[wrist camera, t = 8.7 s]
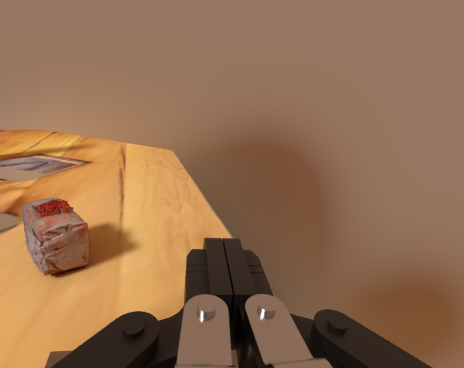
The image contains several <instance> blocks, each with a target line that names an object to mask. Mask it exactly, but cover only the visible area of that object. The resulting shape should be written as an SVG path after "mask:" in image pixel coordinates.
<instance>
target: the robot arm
mask: <svg viewBox="0 0 464 368" xmlns="http://www.w3.org/2000/svg"><path fill="white" fill-rule="evenodd" d="M231 350H236V354H237V362H236V367H235V365H232V358H231ZM50 368H431V367H430V366H429V365H427V364H425V363H423V362H422V361H420V360H419V359H417V358H415V357H414V356H412V355H410V354H409V353H407V352H406V351H404V350H402V349H401V348H399V347H397V346H396V345H394V344H392V343H391V342H389V341H387V340H385V339H384V338H382V337H381V336H379V335H378V334H376V333H374V332H372V331H371V330H369V329H368V328H366V327H364V326H363V325H361V324H359V323H358V322H356V321H355V320H353V319H351V318H350V317H348V316H346V315H344V314H343V313H340V312H338V311H335V310H328V309H326V310H321V311H319V312H317V313H316V314H315V317H314V320H311V319H308V318H304V317H299V316H296V315H293V314H291V313H289V312H288V310H287V308H286V306H285V305H284V304H283V302H281V301H280V300H279V299H277V298H275V297H274V296H273V293H272V291H271V288H270V286H269V283H268V281H267V278H266V276H265V274H264V271H263V268H262V267H261V263H260V260H259V258H258V257H257V256H256V255H255V254H254V253H253V252H252V251H249V250H243V248H242V246H241V242H240V240H239V239H231V238H205V239H204V247H203V249H192V250H191V251H190V253H189V254H188V255H187V262H186V276H185V297H184V306H183V308H182V309H181V310H180V311H179V312H178V313H177V314H175V315H174V316H172V317H170V318H167V319H163V320H160V321H158V320H157V319H156V318H155V317H154V316H153V315H151V314H149V313H146V312H141V311H136V312H130V313H127V314H124V315H122V316H120V317H118V318H117V319H115V320H114V321H113V322H111V323H110V324H109V325H107V326H106V327H105V328H103V329H102V330H101V331H99V332H98V333H96V334H95V335H94V336H92V337H91V338H90V339H88V340H87V341H86V342H84V343H83V344H82V345H80V346H79V347H77V348H76V349H75V350H73V351H72V352H71V353H69V354H68V355H67V356H65V357H64V358H63V359H61V360H60V361H58V362H57V363H56V364H54V365H53V366H52V367H50Z"/></svg>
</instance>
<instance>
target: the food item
mask: <svg viewBox="0 0 464 368" xmlns="http://www.w3.org/2000/svg"><path fill="white" fill-rule="evenodd" d="M67 203H68V202H67V201H64V200H61V199H55V198H51V199H40V200H37V201H33V202H29V203H27V204H25V205H24V206H23V210H22V211H23V223H24V230H25V236H26V245H27V247H28V251H29V252H30V255H31V257H32V260H33V262H34V264H36V266H38V268H39V270H40V271H42V272H43V273H44V276H45V274H46V275H49V274H55V273H60V272H64V271H68V270H72V269H75V268H79V267H82V266H86V265H88V262H89V244H90V241H89V231H88V226H87V223H86V222H84V220H83V219H82V218H81V217H80V216H79V215H78V214H76V213H75V212H74V211H73V209H74V208H73V207H70V206H69V204H67Z"/></svg>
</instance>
